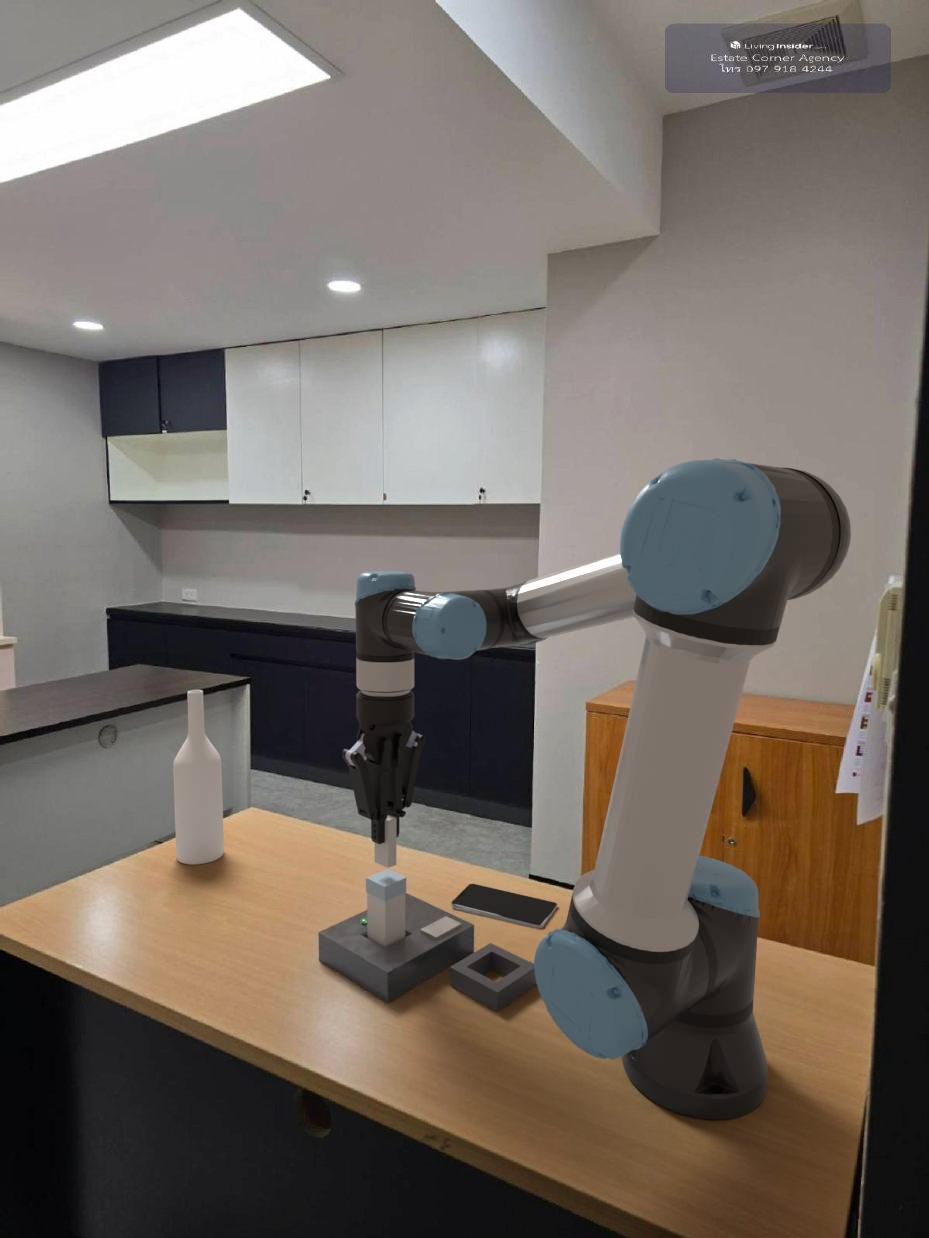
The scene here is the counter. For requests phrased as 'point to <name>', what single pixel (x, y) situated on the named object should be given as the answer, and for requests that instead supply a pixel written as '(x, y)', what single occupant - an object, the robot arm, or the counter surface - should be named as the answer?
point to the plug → (386, 907)
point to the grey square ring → (487, 991)
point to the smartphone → (504, 906)
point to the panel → (397, 949)
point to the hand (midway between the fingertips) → (385, 863)
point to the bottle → (198, 792)
